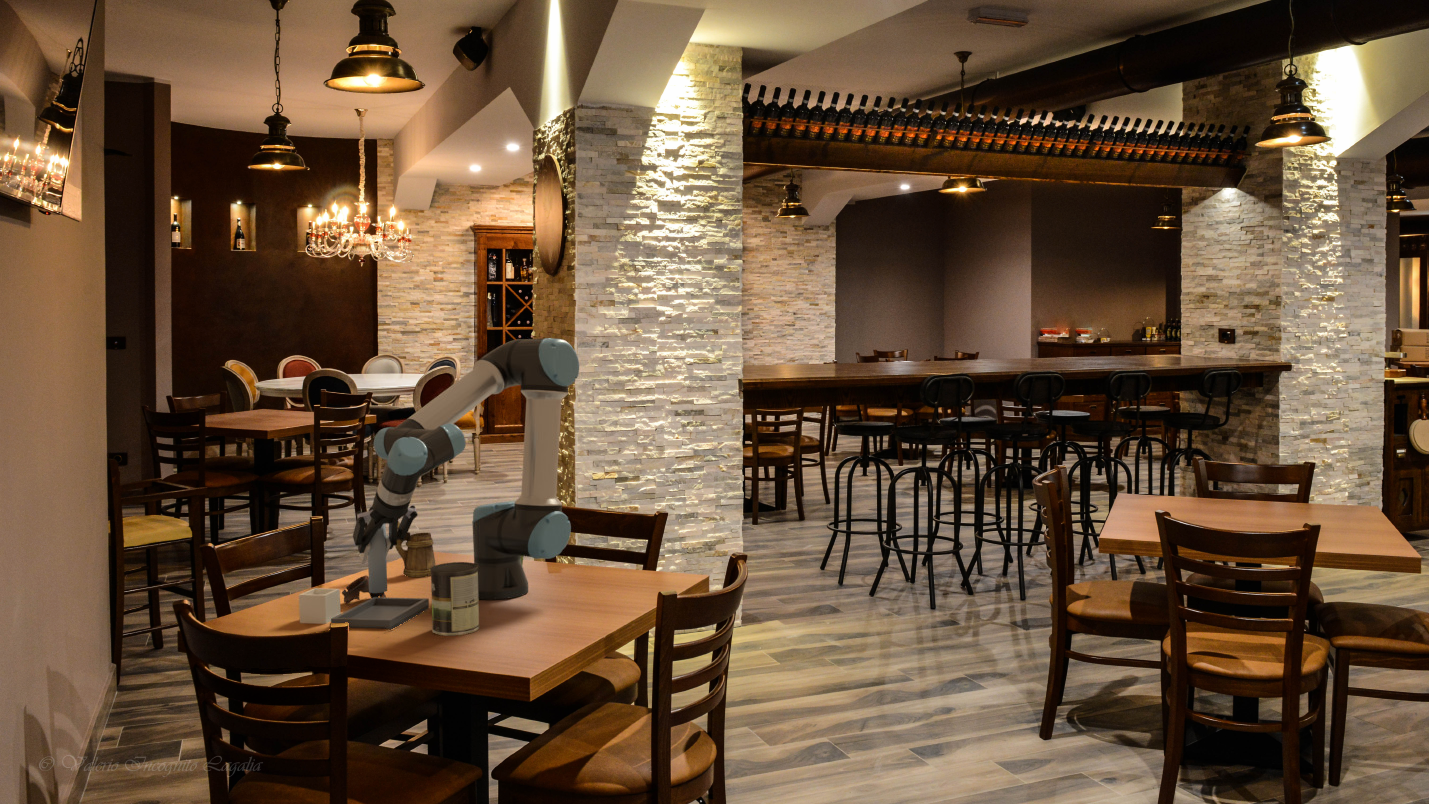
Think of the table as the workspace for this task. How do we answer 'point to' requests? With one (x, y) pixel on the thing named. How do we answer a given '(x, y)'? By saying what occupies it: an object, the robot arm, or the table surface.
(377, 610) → the tray
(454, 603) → the coffee can
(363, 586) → the brown curved piece
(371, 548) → the dowel
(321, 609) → the cube pedestal base
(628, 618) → the table surface
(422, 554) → the wooden mug
